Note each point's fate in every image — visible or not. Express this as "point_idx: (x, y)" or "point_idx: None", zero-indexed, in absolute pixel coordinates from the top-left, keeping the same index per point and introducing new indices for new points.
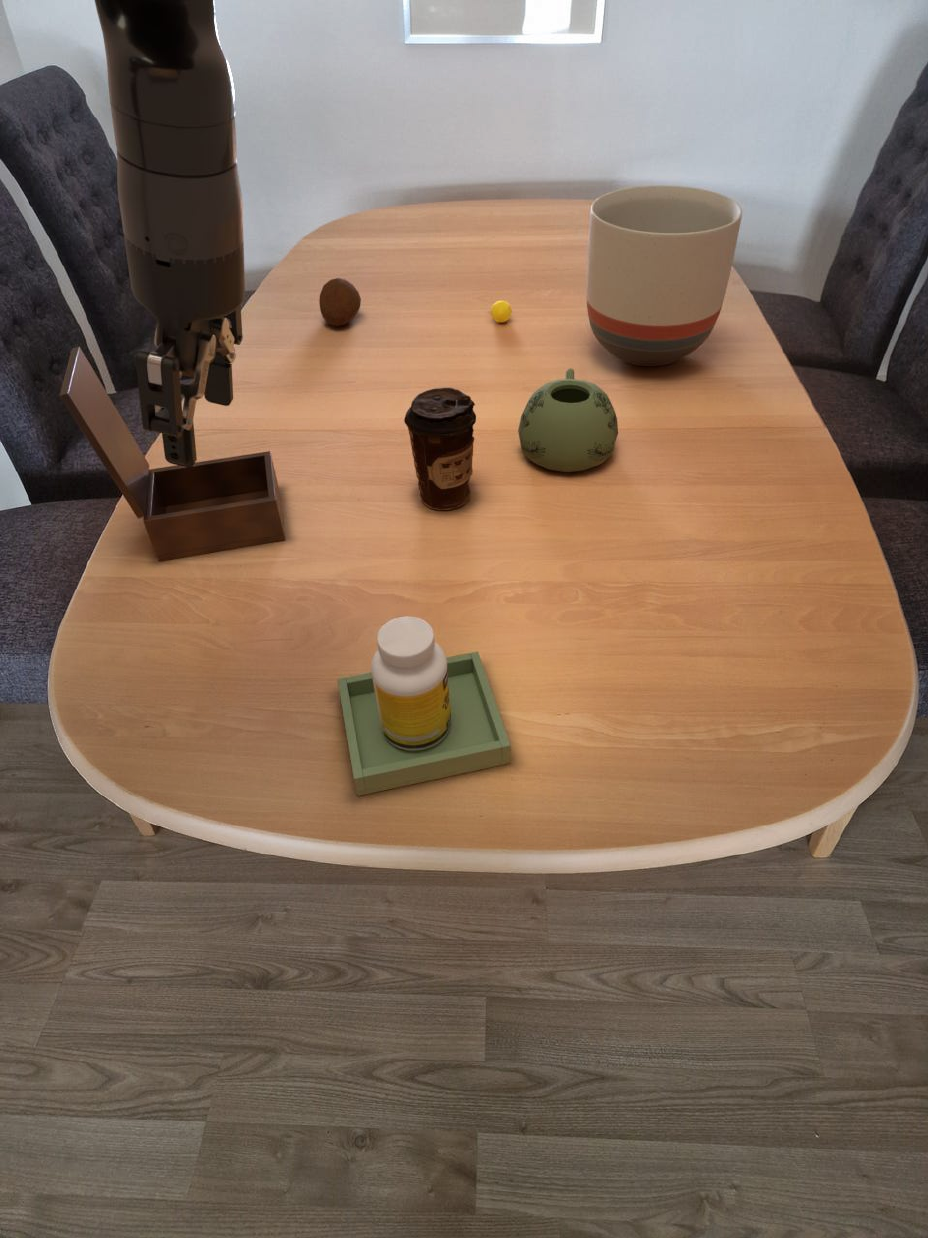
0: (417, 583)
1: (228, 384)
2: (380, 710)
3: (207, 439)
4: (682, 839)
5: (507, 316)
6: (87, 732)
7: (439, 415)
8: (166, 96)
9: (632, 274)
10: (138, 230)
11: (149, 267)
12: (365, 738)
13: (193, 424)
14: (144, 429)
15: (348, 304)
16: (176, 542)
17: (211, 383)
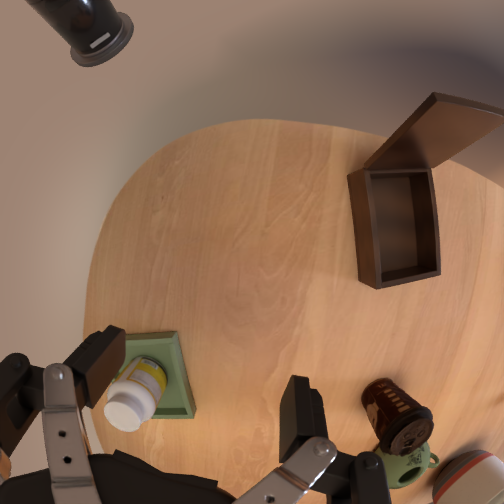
0: (286, 381)
1: (280, 433)
2: (125, 369)
3: (477, 204)
4: (103, 449)
5: None
6: (163, 157)
7: (395, 442)
8: None
9: (466, 498)
10: None
11: None
12: (138, 345)
13: (92, 408)
14: (14, 353)
15: None
16: (355, 192)
17: (289, 410)
